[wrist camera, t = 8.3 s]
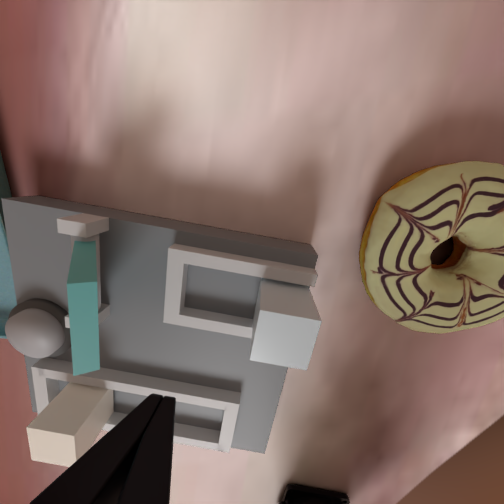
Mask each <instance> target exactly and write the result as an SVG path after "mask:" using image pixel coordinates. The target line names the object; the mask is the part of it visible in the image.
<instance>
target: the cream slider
mask: <svg viewBox="0 0 504 504" xmlns="http://www.w3.org/2000/svg"><path fill="white" fill-rule="evenodd" d="M113 412H114V402H113V390H111V389H106V388H100V387H94V386H89V385H83V384H78V383H72V382H69V383H68V384H67V385H66V386H65V388H64V389H63V390H62V391H61V392H60V393H59V394H58V395H57V396H56V397H55V398H54V399H53V400H52V401H51V402H50V403H49V404H48V405H47V406H46V407H45V408H44V409H43V411H42V412H41V413H40V414H39V415H38V416H37V417H36V418H35V419H34V420H33V421H32V422H31V423H30V424H29V425H28V426H27V427H26V428H27V434H28V440H29V446H30V452H31V459H32V460H34V461H40V462H45V463H51V464H56V465H62V466H67V467H70V466H71V465H72V464H74V463H75V462H76V461H77V460H78V459H79V458H80V457H81V456H82V455H84V454H85V453H86V452H87V451H88V450H89V449H90V447H91V445H92V444H93V442H94V441H95V439H96V438H97V436H98V435H99V433H100V432H101V430H102V429H103V427H104V425H105V424H106V422H107V421H108V419H109V418H110V416H111V415H112V413H113Z"/></svg>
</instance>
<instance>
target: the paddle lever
mask: <svg viewBox="0 0 504 504" xmlns="http://www.w3.org/2000/svg"><path fill="white" fill-rule="evenodd" d="M71 249H72V257H71V263H70V268H69V274H68V279H67V295H68V309H69V322H70V336H71V350H72V363H73V376H76V375H80V374H84V373H88V372H92V371H96V370H100V357H99V324H98V310H99V309H100V308H101V282H100V243H99V234H96V235H93V236H91V237H88V238H84V237H79V236H73V235H71Z"/></svg>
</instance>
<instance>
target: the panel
mask: <svg viewBox="0 0 504 504" xmlns="http://www.w3.org/2000/svg"><path fill="white" fill-rule="evenodd" d="M1 200H2V207H3V214H4V221H5V227H6V234H7V241H8V248H9V254H10V261H11V268H12V275H13V282H14V288H15V295H16V302H17V306H15V307H14V308H13V309H12V310H11V312H10V314H9V317H8V321H7V322H6V325H5V333H6V337H7V339H8V341H9V342H10V344H11V345H12V346H13V347H14V348H15V349H16V350H18V351H19V352H20V353H22V354H24V356H25V363H26V370H27V376H28V383H29V390H30V397H31V403H32V410H33V412H37V413H38V415H39V414H40V413H41V412H42V411H43V409H44V408H45V407H46V406H47V405H48V404H49V403H50V402H51V401H52V400H53V399H54V398H55V397H56V396H57V395H58V394H59V393H60V392H61V391H62V390H63V389H64V388H65V386H66V385H67V384H68V383H69V382H72V383H78V384H83V385H89V386H94V387H100V388H106V389H111V390H113V402H114V412H113V413H112V415H111V416H110V418H109V419H108V421H107V422H106V424H105V425H104V427H103V429H102V430H105V431H110V430H111V429H112V428H113V427H115V426H116V425H117V424H118V423H119V422H120V421H121V420H122V419H123V418H125V417H126V416H127V415H128V414H129V413H130V412H131V411H132V410H133V409H134V408H136V407H137V406H138V405H139V404H140V403H141V402H142V401H143V400H144V399H146V398H147V397H148V396H149V395H150V394H153V393H154V394H160V395H163V397H164V396H171V397H175V398H176V408H175V423H174V438H173V443H177V444H182V445H188V446H193V447H199V448H205V449H210V450H216V451H221V452H227V453H230V448H236V449H242V450H247V451H253V452H258V453H264V454H265V450H266V447H267V443H268V439H269V435H270V432H271V428H272V424H273V421H274V417H275V413H276V410H277V406H278V402H279V398H280V395H281V391H282V387H283V384H284V380H285V376H286V373H287V369H288V367H285V366H279V365H273V364H268V363H262V362H257V361H251V360H250V351H251V339H252V328H253V317H254V312H255V307H256V302H257V297H258V292H259V287H260V282H261V277H262V278H267V279H273V280H278V281H284V282H289V283H295V284H300V285H306V286H308V287H310V286H312V287H315V283H316V280H317V276H318V274H317V272H316V271H315V265H316V262H317V258H318V255H317V253H316V252H315V250H314V249H313V247H312V246H311V245H310V244H304V243H299V242H293V241H288V240H282V239H277V238H271V237H266V236H260V235H254V234H249V233H243V232H238V231H232V230H227V229H221V228H216V227H210V226H205V225H199V224H193V223H188V222H182V221H177V220H171V219H166V218H160V217H155V216H149V215H143V214H138V213H132V212H127V211H121V210H116V209H110V208H105V207H99V206H93V205H88V204H82V203H77V202H71V201H66V200H60V199H55V198H49V197H43V196H38V195H37V196H25V197H12V198H1ZM96 234H99V243H100V282H101V308H100V309H99V310H98V324H99V357H100V370H96V371H92V372H88V373H84V374H80V375H76V376H73V363H72V350H71V336H70V322H69V309H68V295H67V279H68V274H69V268H70V263H71V257H72V249H71V235H73V236H79V237H84V238H88V237H91V236H93V235H96Z"/></svg>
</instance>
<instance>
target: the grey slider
mask: <svg viewBox="0 0 504 504" xmlns="http://www.w3.org/2000/svg"><path fill="white" fill-rule="evenodd" d="M321 322H322V321H321V318H320V315H319V313H318V310H317V308H316V305H315V302H314V300H313V297H312V295H311V292H310V290H309V287H308V286H306V285H300V284H295V283H289V282H284V281H278V280H273V279H267V278H262V277H261V282H260V287H259V292H258V297H257V302H256V307H255V312H254V317H253V328H252V339H251V351H250V360H251V361H257V362H262V363H268V364H273V365H279V366H285V367H290V368H296V369H301V370H307V368H308V365H309V362H310V358H311V355H312V352H313V348H314V345H315V342H316V338H317V335H318V332H319V329H320V325H321Z"/></svg>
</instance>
